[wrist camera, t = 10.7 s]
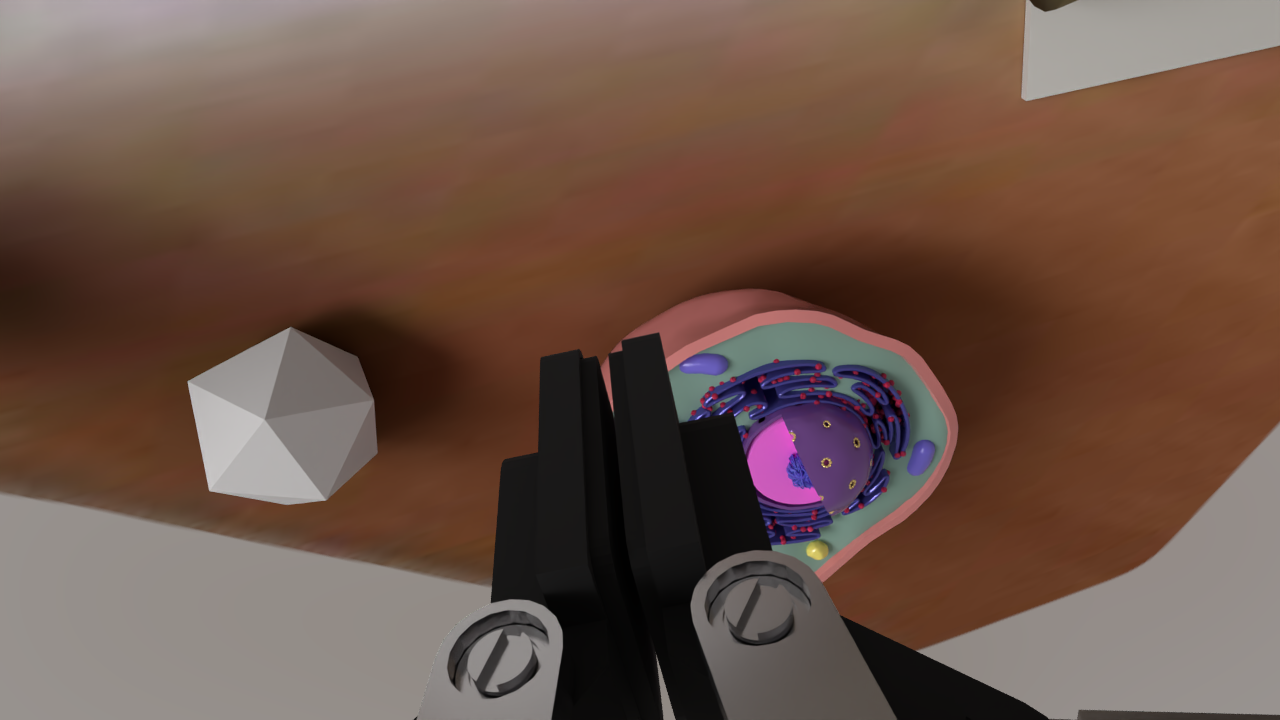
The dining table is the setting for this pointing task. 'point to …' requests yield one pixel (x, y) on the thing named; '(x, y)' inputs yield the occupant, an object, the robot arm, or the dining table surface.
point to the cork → (1050, 4)
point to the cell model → (811, 414)
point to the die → (284, 420)
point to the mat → (1137, 39)
